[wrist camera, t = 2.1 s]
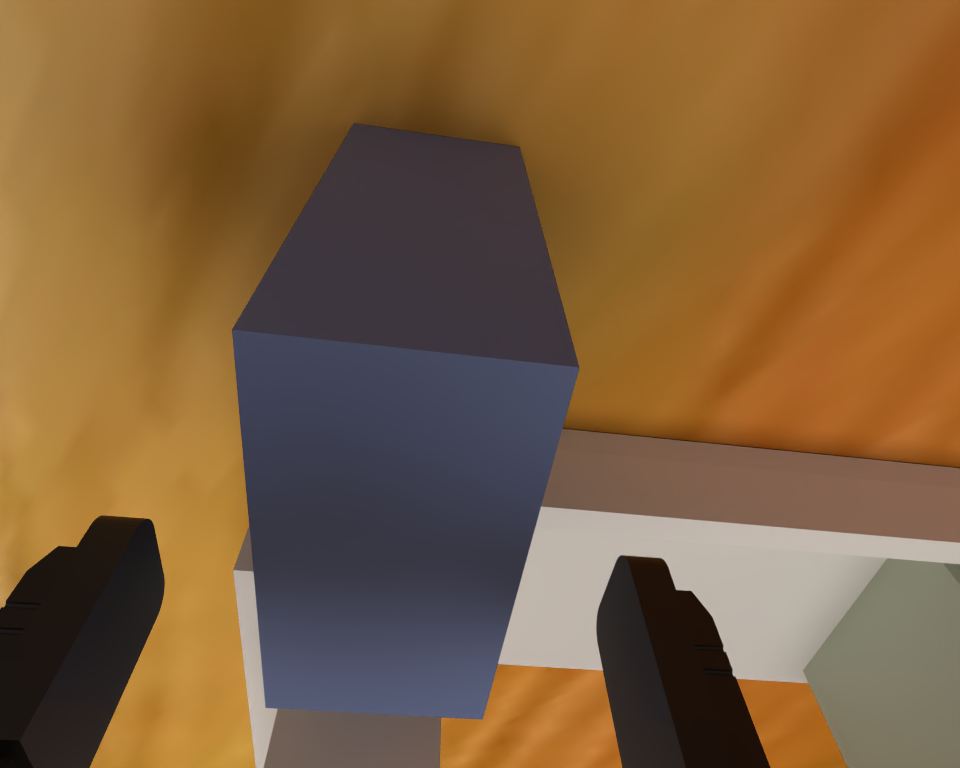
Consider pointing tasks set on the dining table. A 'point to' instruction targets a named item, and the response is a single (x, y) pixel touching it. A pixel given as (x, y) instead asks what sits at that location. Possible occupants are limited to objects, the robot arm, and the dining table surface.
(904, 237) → the dining table surface
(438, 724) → the ivory book
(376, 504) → the navy book
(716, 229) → the dining table surface
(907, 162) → the dining table surface
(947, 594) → the sage book
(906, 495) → the shelf board
